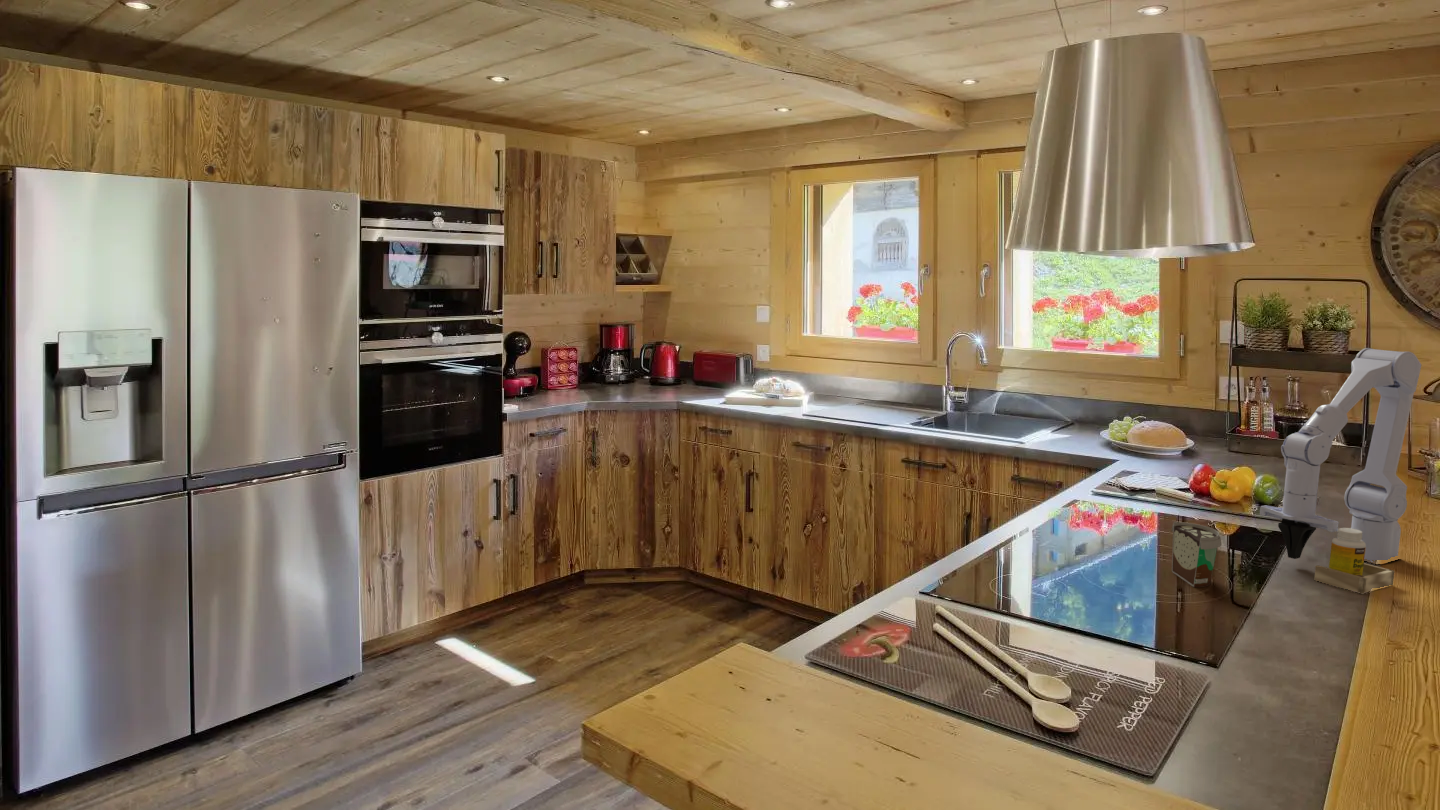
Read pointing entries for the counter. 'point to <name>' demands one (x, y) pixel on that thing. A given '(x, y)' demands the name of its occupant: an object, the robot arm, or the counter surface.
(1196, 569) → the food container
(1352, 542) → the supplement bottle
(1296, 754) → the counter surface
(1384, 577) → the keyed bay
